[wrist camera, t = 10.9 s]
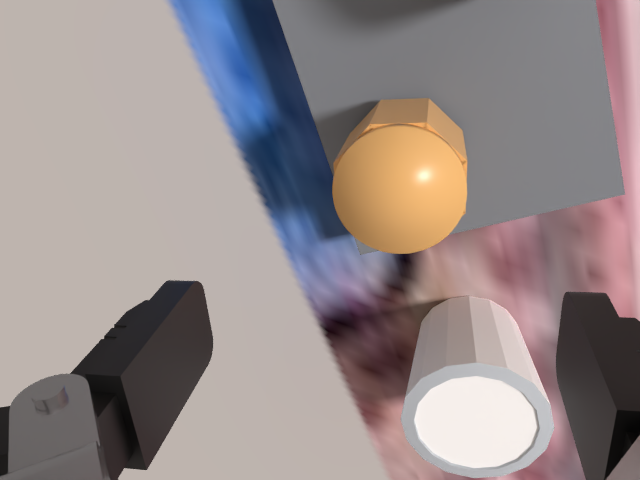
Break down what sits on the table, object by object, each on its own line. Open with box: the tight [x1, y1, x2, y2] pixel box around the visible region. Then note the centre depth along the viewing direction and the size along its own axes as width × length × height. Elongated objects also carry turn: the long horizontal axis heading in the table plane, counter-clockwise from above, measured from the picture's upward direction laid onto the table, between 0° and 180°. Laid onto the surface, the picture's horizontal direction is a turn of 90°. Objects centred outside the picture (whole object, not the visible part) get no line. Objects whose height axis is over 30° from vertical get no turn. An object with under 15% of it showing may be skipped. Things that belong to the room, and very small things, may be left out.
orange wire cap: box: [332, 98, 467, 254], centre depth 22 cm, size 5×5×5 cm
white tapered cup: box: [401, 296, 554, 478], centre depth 29 cm, size 7×7×7 cm
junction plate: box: [273, 0, 625, 255], centre depth 22 cm, size 16×12×9 cm
